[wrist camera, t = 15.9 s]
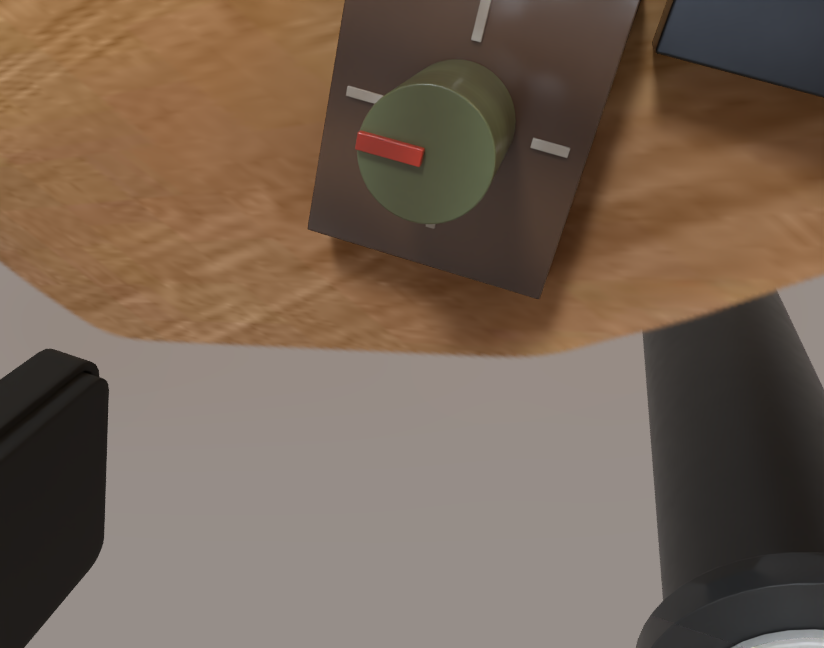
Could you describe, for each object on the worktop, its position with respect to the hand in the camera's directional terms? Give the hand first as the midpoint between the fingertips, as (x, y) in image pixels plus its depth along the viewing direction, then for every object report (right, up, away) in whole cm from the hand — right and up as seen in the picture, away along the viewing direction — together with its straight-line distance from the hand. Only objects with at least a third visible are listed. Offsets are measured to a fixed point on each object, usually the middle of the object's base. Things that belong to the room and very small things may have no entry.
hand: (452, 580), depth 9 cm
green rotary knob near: (+1, +11, +19) cm, 22 cm away
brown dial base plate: (+2, +12, +22) cm, 25 cm away
